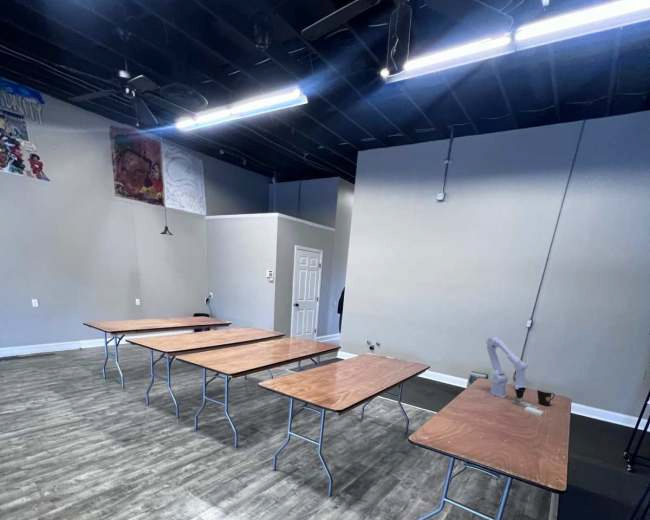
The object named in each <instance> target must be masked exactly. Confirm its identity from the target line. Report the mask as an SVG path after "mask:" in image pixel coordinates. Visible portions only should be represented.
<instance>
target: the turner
mask: <svg viewBox="0 0 650 520" xmlns="http://www.w3.org/2000/svg"><path fill="white" fill-rule="evenodd" d="M513 393H514V394H513V396H514V398H513V400H514V401H515V402H518V403H519V404H522V405H525V406H528V407H530V406H531V405H533V404H532V403H530V402H527V401H523V400H522V399H523V398H522V397H521V399H520V398H517V394H516V391H515V390H514V392H513Z"/></svg>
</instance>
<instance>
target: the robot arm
mask: <svg viewBox="0 0 650 520" xmlns="http://www.w3.org/2000/svg"><path fill="white" fill-rule="evenodd" d="M486 346H487V347H486V349H487V352H488V356H489V359H490V363H491V365H492V369H493V372H492V373H491V374H492V380H493V381H492V382H491V385H490V395H493V396H496V397H499V398H502V399H505V398H507V397H508V395H506V387H507V386H506V385H507V383H508V381H509V380H508V376H507V375H506V373H505V372H504V371H503V370H502V367H501V363H500V361H499V357H498V354H497V352H496V351H497V350H496V349H497V348H500V350H502V351H503V353H505V355H506V356H507V359H508V361H510V362H511V363H512V364H513V367H514V369H515V386H514V387H513V388H514V391H516V394H517V398H520V399H521V397H522V399H523V397H524V394H525V391H526V390H527V388H528V387H527V386H526V370H527V368H528V365H527V364H526V362H524V361H522V360H521V359H520V358H519V357H518V355H517V354H516V353H513V352H511V351H510V349H509V348H508V346H506V344H505V343H504V341H503V340H502V339H501V337H499V336H498V337H488V338H487V339H486Z"/></svg>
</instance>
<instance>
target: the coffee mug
mask: <svg viewBox="0 0 650 520" xmlns="http://www.w3.org/2000/svg"><path fill="white" fill-rule="evenodd" d="M536 391H537V399H538V404H539V405H541V406H543V407H550V405H551V401H552V400H553V399H554V398H555V396H556V395H555V393H554V392H552V391H551V390H548V389H545V388H537V389H536ZM552 394H553V395H552Z"/></svg>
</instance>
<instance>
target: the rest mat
mask: <svg viewBox="0 0 650 520" xmlns="http://www.w3.org/2000/svg"><path fill="white" fill-rule="evenodd" d="M510 403H511V404H515V405H518V406H521V407H525V408H526V407H528V406H525V405H522V404H519V403H518V402H515V401H514V399H512V400H510ZM530 407H531V408H535V409H538V410H540V406H537V405H534V404H532V405H531V406H530Z"/></svg>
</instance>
